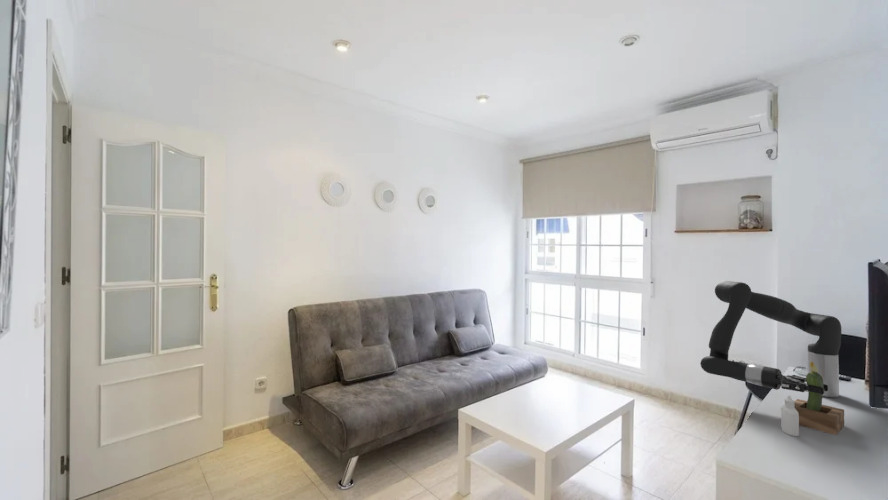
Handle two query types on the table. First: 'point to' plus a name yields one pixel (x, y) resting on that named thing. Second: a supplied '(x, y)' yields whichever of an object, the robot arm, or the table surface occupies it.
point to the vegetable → (816, 380)
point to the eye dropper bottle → (790, 418)
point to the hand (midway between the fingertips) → (825, 389)
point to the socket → (820, 417)
